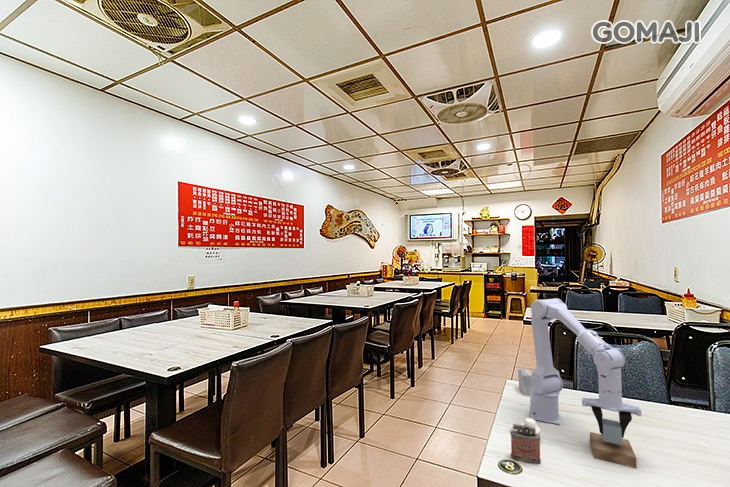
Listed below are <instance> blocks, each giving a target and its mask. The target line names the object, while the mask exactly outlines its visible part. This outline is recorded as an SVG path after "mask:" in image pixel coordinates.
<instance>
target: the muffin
mask: <svg viewBox="0 0 730 487" xmlns="http://www.w3.org/2000/svg"><path fill="white" fill-rule="evenodd" d="M536 421H537V420H534V419H531V417H530V418H529V417H528V418H525V419H524V420H523V422H522V423H520V425H524V424H527V425H528V426H530V427H535V428H536V432H535V433H536V434H538V435H540V436H541V434H542V430H541V427H540V426H538V424H537V422H536ZM520 431H522V430H520Z"/></svg>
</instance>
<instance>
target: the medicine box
mask: <svg viewBox="0 0 730 487" xmlns="http://www.w3.org/2000/svg"><path fill="white" fill-rule="evenodd" d="M531 379H532V371H530V370H529V369H527V368H526V369H524V368H523V369H522V368H520V369H518V388H519V391H520V392H521V393H522V395H523V396H530V391H534V390H533V388H532V386H531Z"/></svg>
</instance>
